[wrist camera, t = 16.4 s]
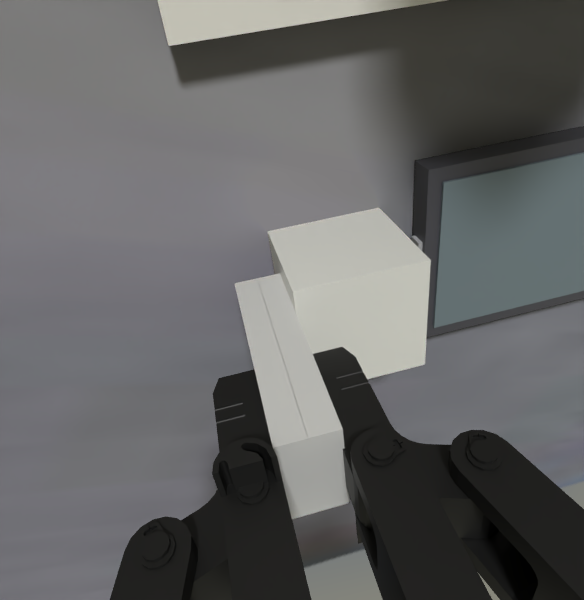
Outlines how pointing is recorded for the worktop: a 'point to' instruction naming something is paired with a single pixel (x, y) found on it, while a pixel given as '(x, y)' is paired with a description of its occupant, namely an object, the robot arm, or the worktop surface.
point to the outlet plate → (258, 15)
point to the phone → (501, 228)
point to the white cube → (357, 288)
